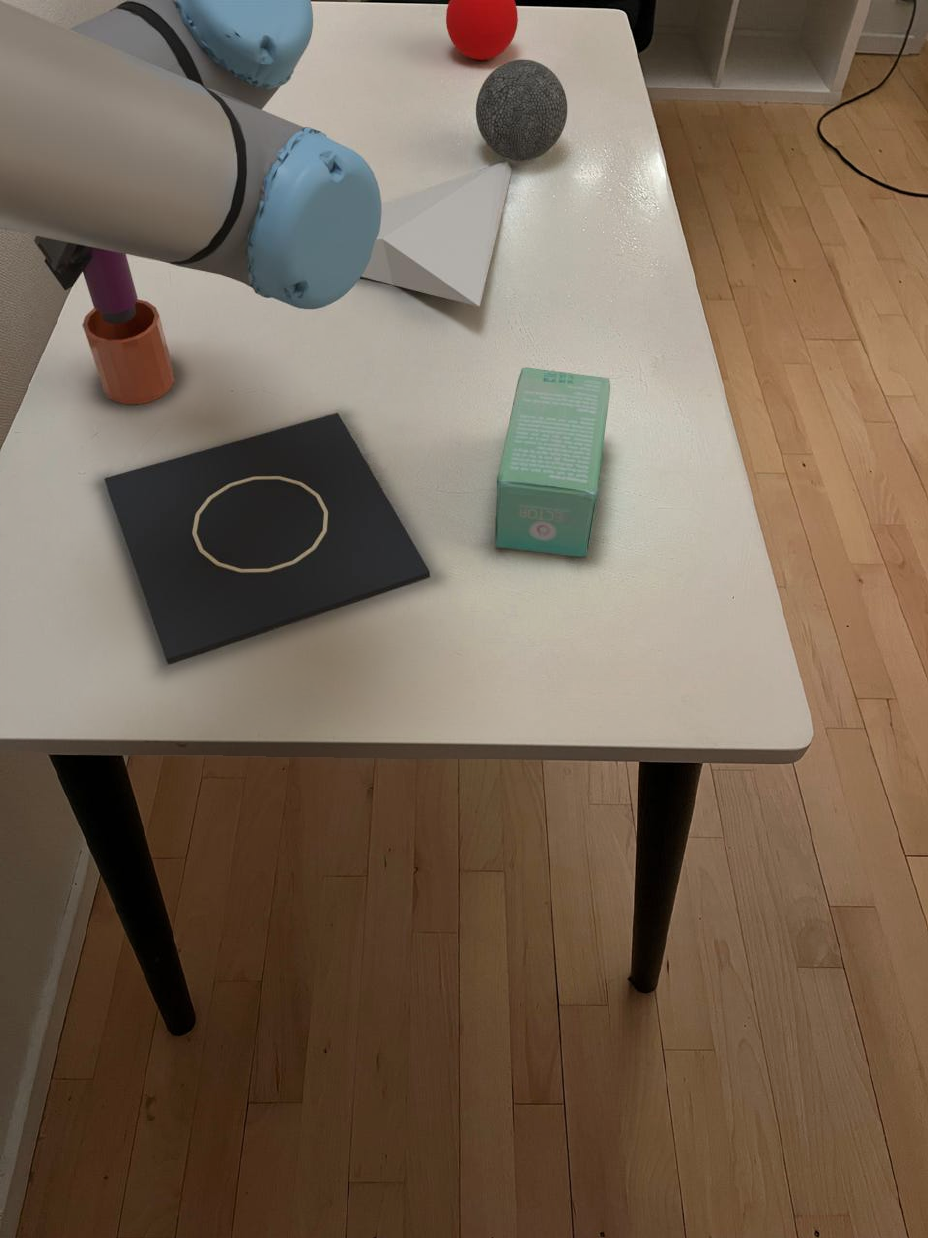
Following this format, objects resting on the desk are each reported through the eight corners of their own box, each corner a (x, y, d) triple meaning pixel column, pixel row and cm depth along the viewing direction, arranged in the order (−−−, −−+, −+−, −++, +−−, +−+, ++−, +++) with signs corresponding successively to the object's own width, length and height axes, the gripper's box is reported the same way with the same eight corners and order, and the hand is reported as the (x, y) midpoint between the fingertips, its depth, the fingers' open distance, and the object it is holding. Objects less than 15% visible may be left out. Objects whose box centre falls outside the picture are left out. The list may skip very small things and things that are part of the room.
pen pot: (111, 412, 91) (91, 349, 86) (96, 370, 95) (76, 308, 90) (182, 393, 93) (166, 330, 88) (164, 353, 96) (148, 291, 91)
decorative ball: (565, 178, 116) (573, 85, 109) (474, 176, 116) (475, 83, 109) (562, 134, 123) (569, 43, 115) (476, 133, 123) (477, 42, 115)
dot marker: (102, 331, 87) (65, 212, 79) (93, 307, 89) (56, 189, 81) (145, 320, 88) (113, 201, 80) (135, 297, 90) (103, 179, 82)
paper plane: (610, 200, 114) (615, 163, 110) (478, 339, 98) (479, 300, 95) (410, 139, 122) (408, 102, 118) (258, 258, 106) (252, 220, 103)
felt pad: (168, 664, 74) (166, 658, 74) (105, 483, 86) (103, 477, 85) (430, 576, 79) (430, 570, 79) (338, 417, 91) (337, 411, 90)
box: (492, 552, 81) (495, 480, 75) (514, 436, 89) (519, 364, 84) (587, 564, 80) (598, 492, 75) (601, 446, 89) (612, 374, 83)
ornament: (485, 35, 140) (486, -50, 132) (530, 58, 135) (535, -28, 127) (431, 54, 136) (430, -33, 128) (477, 78, 132) (478, -9, 124)
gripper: (97, 232, 65) (23, 348, 84) (295, 134, 73) (185, 261, 92) (18, 118, 63) (-39, 264, 82) (230, 30, 71) (132, 182, 90)
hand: (80, 262), depth 87 cm, fingers closed on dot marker, 3 cm apart
